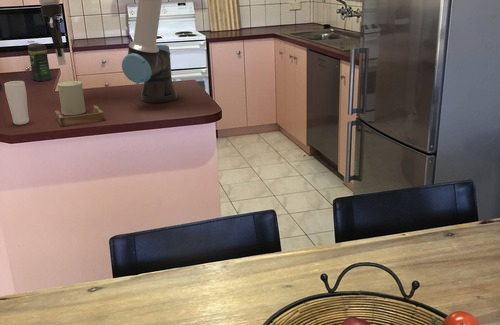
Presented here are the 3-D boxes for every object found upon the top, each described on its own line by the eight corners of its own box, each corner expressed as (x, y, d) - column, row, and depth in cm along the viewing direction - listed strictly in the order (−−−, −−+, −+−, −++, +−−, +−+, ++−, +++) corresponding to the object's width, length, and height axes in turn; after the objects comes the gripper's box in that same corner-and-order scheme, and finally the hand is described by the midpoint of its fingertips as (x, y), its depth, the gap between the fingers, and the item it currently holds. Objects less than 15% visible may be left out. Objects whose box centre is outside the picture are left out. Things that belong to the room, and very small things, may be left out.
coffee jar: (53, 79, 266) (48, 43, 260) (38, 82, 261) (32, 44, 255) (45, 77, 273) (39, 41, 266) (30, 79, 268) (24, 43, 261)
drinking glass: (25, 119, 195) (18, 80, 190) (34, 122, 191) (28, 82, 186) (8, 123, 191) (0, 83, 185) (17, 126, 186) (9, 85, 181)
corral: (55, 118, 196) (54, 110, 195) (96, 112, 203) (95, 105, 202) (61, 126, 186) (60, 118, 184) (104, 120, 192) (103, 112, 191)
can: (78, 115, 199) (74, 84, 195) (56, 114, 201) (52, 84, 197) (90, 109, 208) (86, 79, 204) (69, 108, 210) (65, 79, 205)
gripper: (43, 7, 211) (56, 65, 217) (36, 4, 199) (49, 66, 204) (62, 5, 212) (74, 63, 218) (56, 2, 200) (69, 64, 205)
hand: (62, 64), depth 211 cm, fingers closed
